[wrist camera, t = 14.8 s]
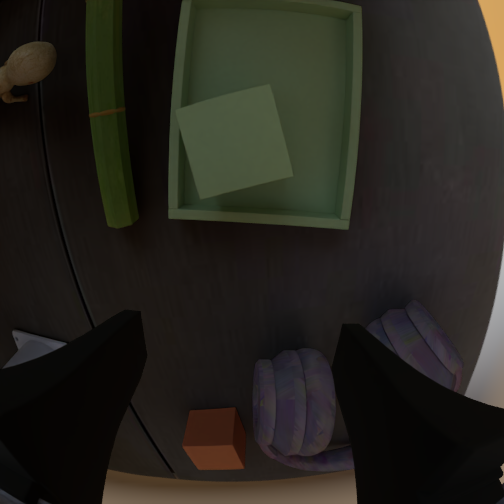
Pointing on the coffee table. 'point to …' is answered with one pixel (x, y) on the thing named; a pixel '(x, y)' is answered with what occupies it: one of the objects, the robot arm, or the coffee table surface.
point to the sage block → (234, 141)
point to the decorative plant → (109, 111)
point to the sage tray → (286, 98)
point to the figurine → (26, 68)
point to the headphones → (323, 391)
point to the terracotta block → (215, 439)
